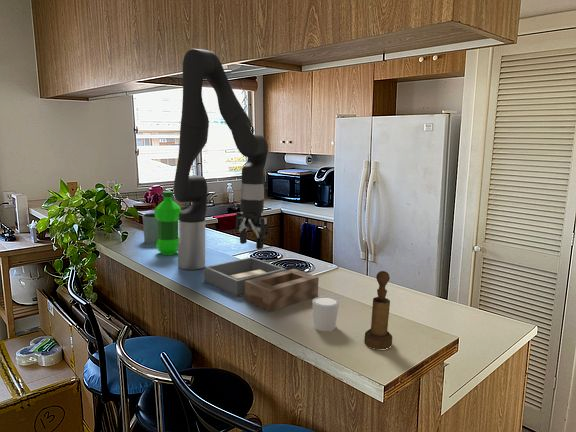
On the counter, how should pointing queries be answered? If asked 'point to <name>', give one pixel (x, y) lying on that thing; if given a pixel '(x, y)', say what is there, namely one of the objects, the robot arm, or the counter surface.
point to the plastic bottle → (167, 224)
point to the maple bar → (247, 274)
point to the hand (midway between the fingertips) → (251, 245)
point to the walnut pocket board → (281, 289)
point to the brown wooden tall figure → (379, 317)
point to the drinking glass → (150, 228)
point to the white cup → (325, 313)
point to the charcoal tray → (221, 273)
